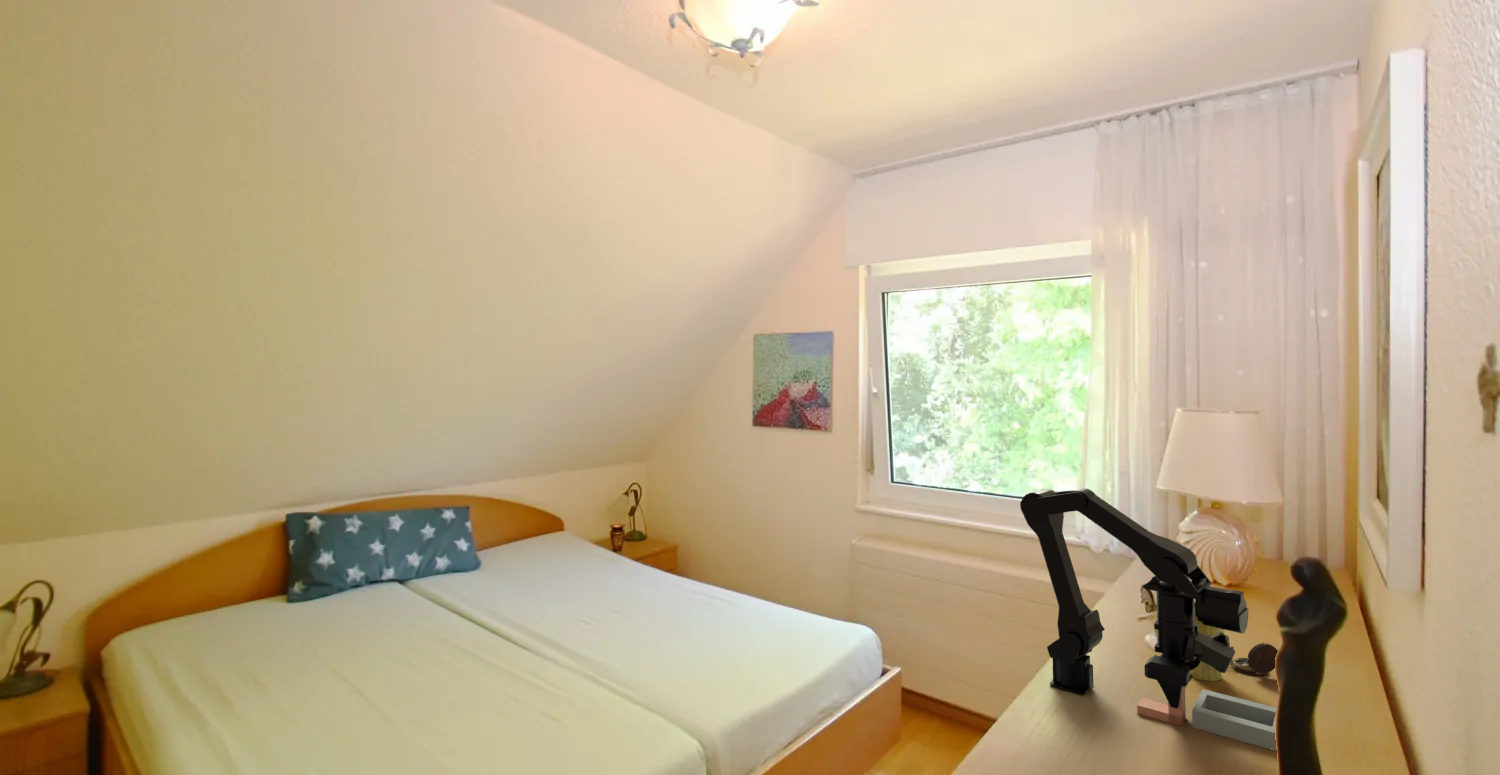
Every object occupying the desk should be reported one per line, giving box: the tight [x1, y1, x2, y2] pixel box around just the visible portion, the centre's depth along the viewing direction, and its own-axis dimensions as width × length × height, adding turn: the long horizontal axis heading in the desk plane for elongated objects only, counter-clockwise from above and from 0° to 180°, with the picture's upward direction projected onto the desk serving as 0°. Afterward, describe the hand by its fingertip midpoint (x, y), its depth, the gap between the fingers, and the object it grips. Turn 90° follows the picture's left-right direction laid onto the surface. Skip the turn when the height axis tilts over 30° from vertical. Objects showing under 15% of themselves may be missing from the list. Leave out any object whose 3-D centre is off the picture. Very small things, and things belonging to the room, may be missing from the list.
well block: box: [1191, 688, 1278, 752], centre depth 117 cm, size 12×10×3 cm
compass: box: [1228, 641, 1279, 676], centre depth 137 cm, size 8×8×7 cm
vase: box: [1190, 601, 1223, 682], centre depth 136 cm, size 6×6×14 cm
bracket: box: [1136, 686, 1187, 727], centre depth 122 cm, size 7×4×7 cm, turn 47°
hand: (1176, 703), depth 120 cm, fingers closed on bracket, 3 cm apart
